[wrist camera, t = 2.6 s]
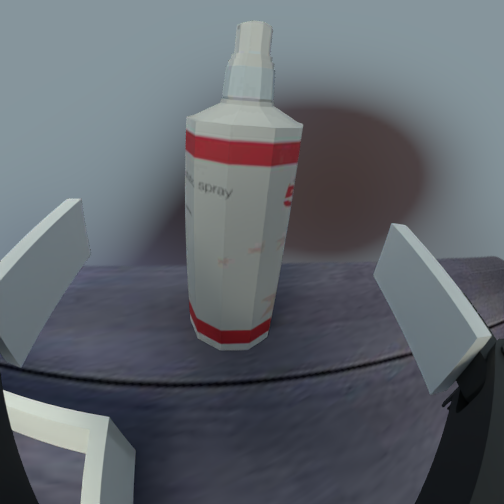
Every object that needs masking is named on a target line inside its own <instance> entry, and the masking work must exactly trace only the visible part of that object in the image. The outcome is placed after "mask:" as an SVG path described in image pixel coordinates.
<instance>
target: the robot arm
mask: <svg viewBox="0 0 504 504" xmlns="http://www.w3.org/2000/svg"><path fill="white" fill-rule="evenodd" d="M90 255H91V250H90V245H89V241H88V235H87V230H86V225H85V219H84V213H83V206H82V199H67V200H65V201H64V202H63V203H62V204H60V205H59V206H58V207H57V208H56V209H55V210H53V211H52V212H51V213H50V214H49V215H48V216H46V217H45V218H44V219H43V220H42V221H41V222H40V223H39V224H38V225H36V226H35V227H34V228H33V229H32V230H31V231H30V232H29V233H28V234H27V235H26V236H25V237H24V238H23V239H22V240H21V241H20V242H19V243H18V244H17V245H16V246H15V247H14V248H13V249H12V250H11V251H10V252H9V253H8V254H7V255H6V256H5V257H4V258H3V259H2V260H1V261H0V353H1V355H2V356H3V358H4V359H5V361H6V362H8V363H10V364H13V365H15V366H18V367H20V368H22V366H23V364H24V362H25V360H26V358H27V356H28V354H29V352H30V350H31V348H32V347H33V345H34V343H35V341H36V339H37V338H38V336H39V334H40V332H41V330H42V329H43V327H44V325H45V324H46V322H47V320H48V319H49V317H50V315H51V314H52V312H53V310H54V309H55V307H56V306H57V304H58V302H59V301H60V299H61V298H62V296H63V295H64V293H65V292H66V290H67V288H68V287H69V285H70V284H71V282H72V281H73V280H74V278H75V277H76V275H77V274H78V272H79V271H80V269H81V268H82V267H83V265H84V264H85V262H86V261H87V259H88V258H89V257H90ZM373 276H374V278H375V280H376V282H377V283H378V285H379V287H380V289H381V291H382V293H383V295H384V296H385V298H386V300H387V302H388V304H389V306H390V308H391V310H392V312H393V314H394V316H395V318H396V320H397V322H398V324H399V326H400V328H401V330H402V332H403V334H404V336H405V338H406V340H407V342H408V345H409V347H410V349H411V351H412V353H413V355H414V358H415V360H416V362H417V364H418V367H419V369H420V371H421V373H422V376H423V378H424V381H425V383H426V385H427V388H428V390H429V393H430V395H432V394H436V393H440V392H444V391H446V390H447V389H448V388H449V387H450V386H451V385H452V384H453V383H454V382H455V381H457V383H458V385H459V387H458V388H457V389H456V390H455V391H454V392H453V393H452V394H451V395H450V396H449V397H448V398H447V399H446V400H445V401H444V402H443V404H442V407H444V406H445V405H447V404H448V403H449V402H450V401H452V402H451V405H450V406H449V407H448V408H447V409H448V410H449V414H448V417H447V421H446V424H445V428H444V431H443V434H442V437H441V441H440V444H439V447H438V449H437V452H436V455H435V458H434V461H433V463H432V466H431V468H430V471H429V473H428V476H427V478H426V481H425V483H424V485H423V487H422V490H421V492H420V494H419V496H418V498H417V500H416V502H415V504H504V339H499V340H496V338H495V337H494V335H493V334H492V332H491V331H490V329H489V328H488V326H487V325H486V323H485V322H484V320H483V319H482V317H481V316H480V314H479V313H477V310H476V309H475V307H474V306H472V303H471V302H470V300H469V299H468V298H467V296H466V295H465V294H464V293H463V292H462V291H461V290H460V289H459V288H458V286H457V285H456V284H455V282H454V281H453V280H452V279H451V277H450V276H449V275H448V274H447V272H446V271H445V270H444V269H443V267H442V266H441V265H440V264H439V263H438V261H437V260H436V259H435V258H434V257H433V255H432V254H431V253H430V252H429V251H428V249H427V248H426V247H425V246H424V245H423V244H422V243H421V242H420V240H419V239H418V238H417V237H416V236H415V235H414V234H413V233H412V232H411V230H410V229H409V228H408V227H407V226H406V225H402V224H394V223H392V224H391V227H390V230H389V233H388V236H387V239H386V242H385V244H384V247H383V250H382V253H381V255H380V258H379V261H378V263H377V266H376V269H375V271H374V274H373ZM0 504H39V503H38V501H37V499H36V497H35V494H34V492H33V490H32V487H31V485H30V483H29V480H28V478H27V475H26V472H25V470H24V467H23V464H22V461H21V459H20V456H19V453H18V449H17V446H16V443H15V440H14V436H13V432H12V429H11V425H10V421H9V417H8V412H7V408H6V403H5V398H4V393H3V387H2V381H1V374H0Z"/></svg>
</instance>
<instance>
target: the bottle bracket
mask: <svg viewBox="0 0 504 504" xmlns="http://www.w3.org/2000/svg"><path fill="white" fill-rule="evenodd" d="M3 393H4V398H5V403H6V408H7V412H8V417H9V421H10V425H11V429H12V430H13V431H16V432H18V433H21V434H23V435H26V436H29V437H31V438H34V439H37V440H40V441H43V442H46V443H49V444H52V445H56V446H59V447H62V448H66V449H70V450H73V451H77V452H81V453H85V454H86V458H85V465H84V473H83V483H82V493H81V504H133V492H134V470H135V455H136V450H135V449H134V448H133V447H132V445H131V444H130V443H129V442H128V440H127V439H126V438H125V437H124V435H123V434H122V433H121V432H120V430H119V429H118V428H117V426H116V425H115V424H114V422H113V421H112V420H111V418H110V417H107V416H101V415H95V414H90V413H85V412H80V411H75V410H70V409H66V408H62V407H58V406H54V405H50V404H46V403H43V402H39V401H35V400H32V399H29V398H26V397H22V396H19V395H16V394H13V393H10V392H8V391H5V390H3Z"/></svg>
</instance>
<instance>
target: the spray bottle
mask: <svg viewBox="0 0 504 504" xmlns="http://www.w3.org/2000/svg"><path fill="white" fill-rule="evenodd" d="M272 33H273V29H272V26H270V25H269V24H267V23H265V22H261V21H249V22H244V23H241V24H238V25H237V32H236V41H235V52H234V54H232V55H231V59H230V60H228V66H226V73H225V79H224V87H223V94H222V96H223V99H221V103H219V104H217V105H215V106H212V107H210V108H208V109H206V110H204V111H202V112H200V113H197V114H196V115H192V116H188V117H187V121H186V156H185V209H186V210H185V214H186V251H187V274H188V292H189V307H190V320H191V323H192V325H193V328H194V330H195V332H196V335H197V337H198V339H200V340H202V341H204V342H205V343H207V344H209V345H211V346H213V347H215V348H217V349H219V350H220V351H223V350H249V349H250V348H252V347H253V346H255V345H256V344H258V343H259V342H261V341H262V340H264V339H265V338H267V337H268V332H269V328H270V323H271V318H272V313H273V307H274V302H275V297H276V291H277V286H278V280H279V275H280V269H281V263H282V257H283V252H284V246H285V240H286V234H287V228H288V221H289V216H290V209H291V203H292V197H293V190H294V184H295V177H296V171H297V164H298V157H299V150H300V143H301V135H302V128H303V124H301V123H298V122H296V121H295V120H293V119H292V118H290V117H289V116H288V115H286V114H284V113H283V112H282V111H280V110H278V109H277V108H275V107H274V102H272V101H273V100H274V82H275V70H274V63H272V57H271V56H270V52H271V43H272Z"/></svg>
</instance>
